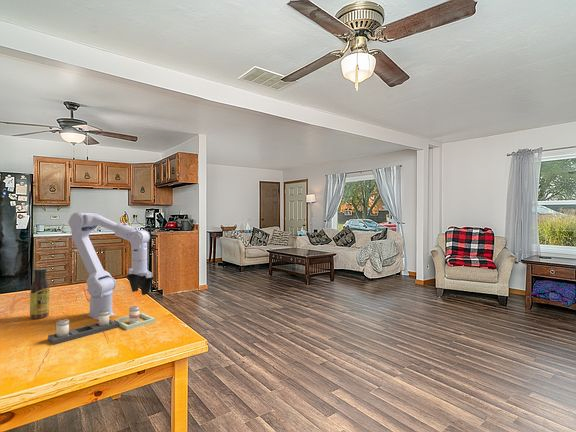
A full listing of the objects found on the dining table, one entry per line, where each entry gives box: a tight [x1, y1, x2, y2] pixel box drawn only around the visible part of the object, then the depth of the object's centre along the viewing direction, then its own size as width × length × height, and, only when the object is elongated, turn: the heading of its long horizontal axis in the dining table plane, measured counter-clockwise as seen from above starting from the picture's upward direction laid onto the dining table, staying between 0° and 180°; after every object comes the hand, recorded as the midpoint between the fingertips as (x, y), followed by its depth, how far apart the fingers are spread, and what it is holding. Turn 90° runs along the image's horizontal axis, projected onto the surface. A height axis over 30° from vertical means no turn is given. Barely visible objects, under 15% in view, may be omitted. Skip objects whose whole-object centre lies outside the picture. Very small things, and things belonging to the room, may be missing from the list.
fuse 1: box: [55, 319, 70, 338], centre depth 109 cm, size 4×4×6 cm
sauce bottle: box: [29, 267, 50, 320], centre depth 132 cm, size 7×6×20 cm
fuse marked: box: [128, 305, 141, 325], centre depth 125 cm, size 4×4×6 cm
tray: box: [113, 312, 156, 331], centre depth 125 cm, size 11×11×2 cm
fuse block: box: [47, 319, 119, 346], centre depth 114 cm, size 7×20×2 cm, turn 141°
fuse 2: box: [97, 310, 110, 327], centre depth 119 cm, size 4×4×6 cm
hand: (139, 292), depth 132 cm, fingers open, 7 cm apart
